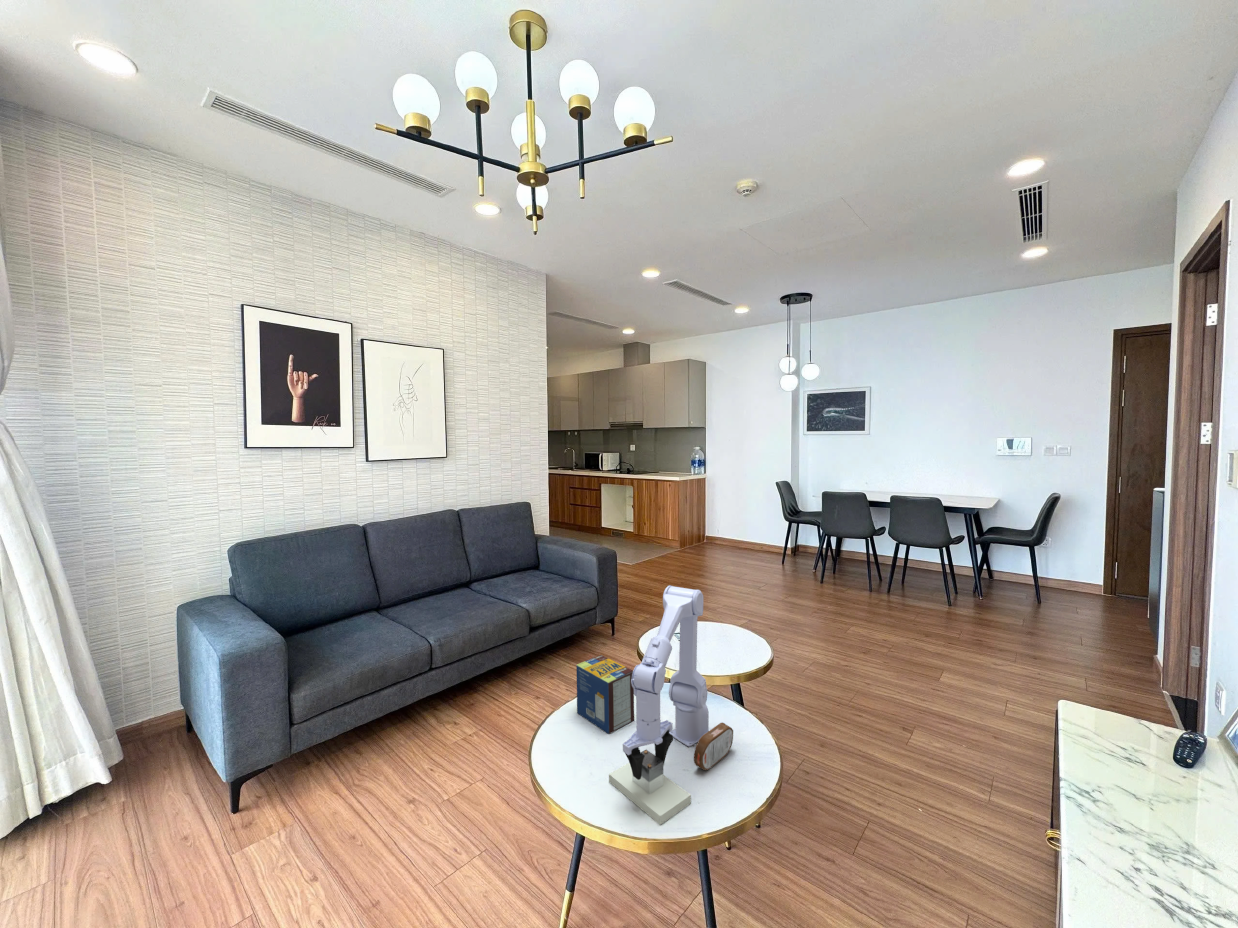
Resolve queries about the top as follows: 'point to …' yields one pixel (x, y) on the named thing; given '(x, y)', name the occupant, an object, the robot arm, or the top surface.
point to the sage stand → (651, 795)
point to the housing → (650, 773)
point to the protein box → (605, 693)
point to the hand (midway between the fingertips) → (648, 769)
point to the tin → (713, 746)
